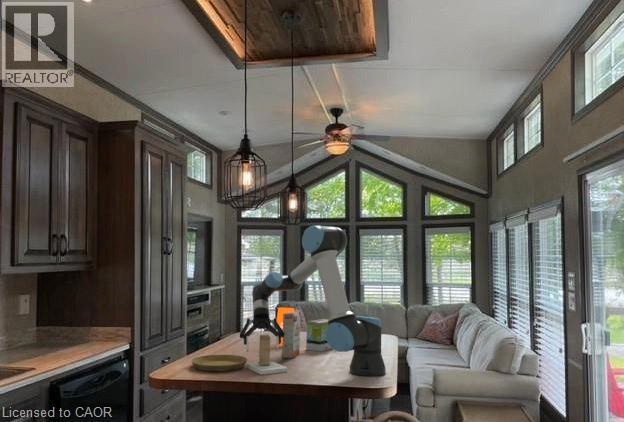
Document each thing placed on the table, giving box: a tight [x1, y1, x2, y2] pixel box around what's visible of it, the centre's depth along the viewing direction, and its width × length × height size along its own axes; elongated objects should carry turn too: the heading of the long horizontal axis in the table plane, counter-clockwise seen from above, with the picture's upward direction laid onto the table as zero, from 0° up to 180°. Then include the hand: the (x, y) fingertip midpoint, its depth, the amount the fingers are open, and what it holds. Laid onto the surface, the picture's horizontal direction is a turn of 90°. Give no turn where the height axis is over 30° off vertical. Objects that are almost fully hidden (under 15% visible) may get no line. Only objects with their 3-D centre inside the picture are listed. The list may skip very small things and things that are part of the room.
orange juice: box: [275, 307, 295, 347], centre depth 270 cm, size 8×9×20 cm
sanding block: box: [258, 334, 271, 366], centre depth 212 cm, size 6×4×12 cm, turn 10°
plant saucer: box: [191, 354, 248, 373], centre depth 214 cm, size 24×24×3 cm
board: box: [247, 361, 288, 376], centre depth 209 cm, size 14×12×2 cm
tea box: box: [305, 318, 333, 352], centre depth 259 cm, size 15×10×15 cm, turn 143°
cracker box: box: [281, 310, 301, 359], centre depth 240 cm, size 14×6×21 cm, turn 168°
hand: (262, 350), depth 217 cm, fingers open, 13 cm apart
